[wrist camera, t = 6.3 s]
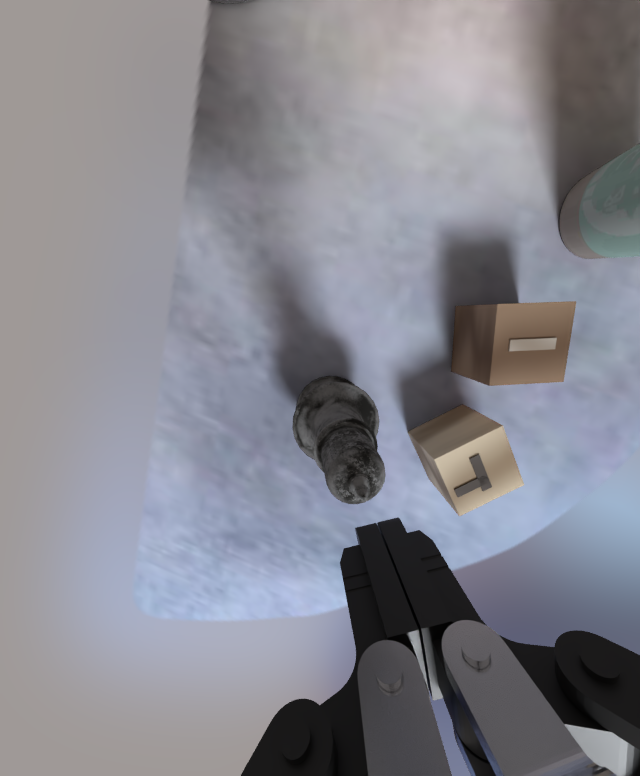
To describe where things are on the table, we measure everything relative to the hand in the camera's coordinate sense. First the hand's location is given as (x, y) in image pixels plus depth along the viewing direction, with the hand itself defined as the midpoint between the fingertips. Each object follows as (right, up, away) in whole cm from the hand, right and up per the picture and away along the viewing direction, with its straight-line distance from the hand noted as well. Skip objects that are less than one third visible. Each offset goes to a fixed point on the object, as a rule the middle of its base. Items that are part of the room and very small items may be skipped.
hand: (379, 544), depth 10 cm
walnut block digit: (+11, +9, +14) cm, 20 cm away
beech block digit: (+9, +1, +15) cm, 18 cm away
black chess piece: (-1, +4, +14) cm, 15 cm away
